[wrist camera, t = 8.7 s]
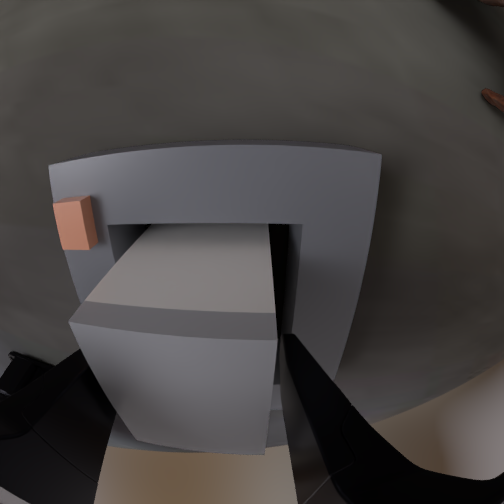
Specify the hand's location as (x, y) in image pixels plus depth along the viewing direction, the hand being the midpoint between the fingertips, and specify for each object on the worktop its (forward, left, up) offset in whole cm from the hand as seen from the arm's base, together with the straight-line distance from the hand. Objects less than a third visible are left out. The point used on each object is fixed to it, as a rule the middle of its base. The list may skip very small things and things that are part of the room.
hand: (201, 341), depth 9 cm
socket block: (0, 0, -4) cm, 4 cm away
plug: (0, 0, -4) cm, 4 cm away
